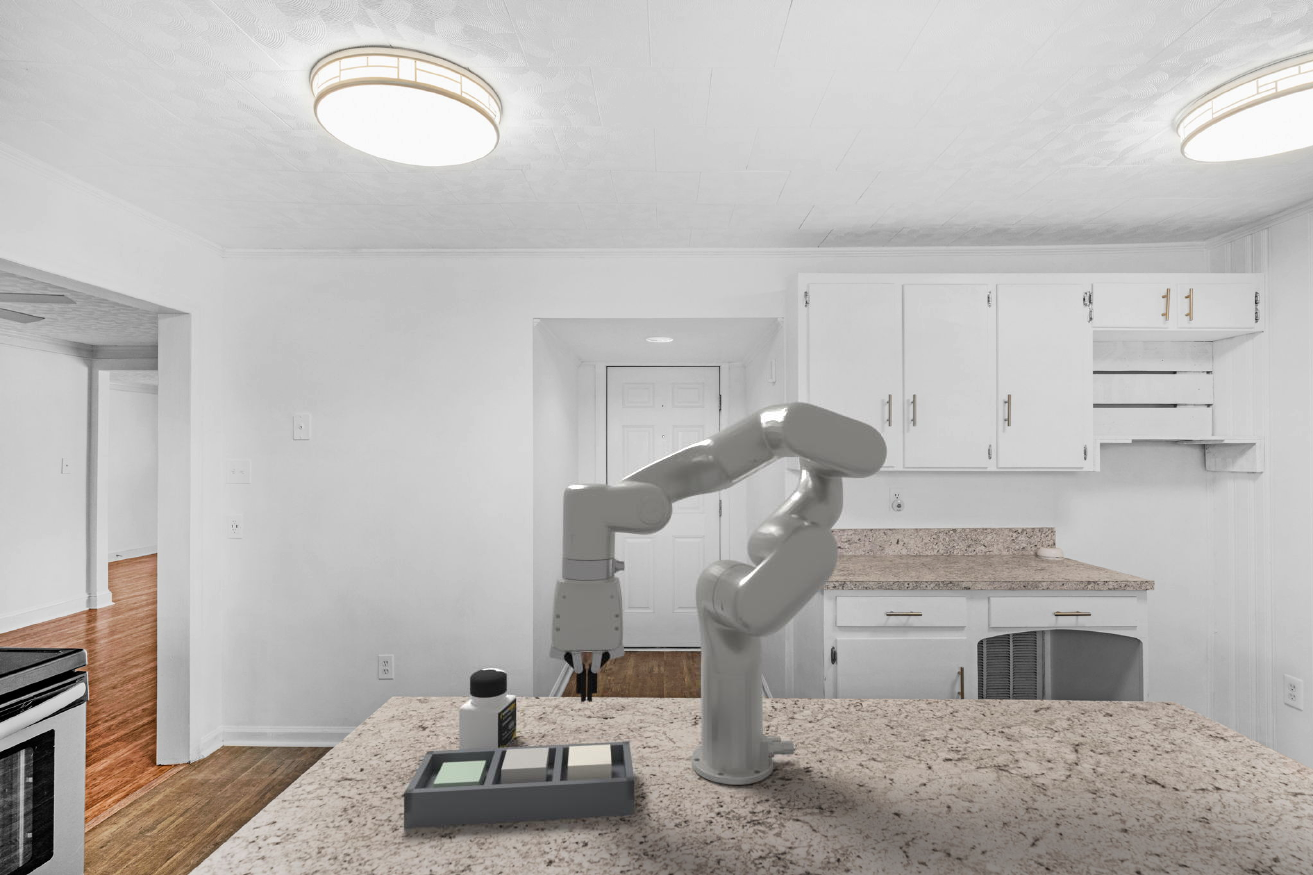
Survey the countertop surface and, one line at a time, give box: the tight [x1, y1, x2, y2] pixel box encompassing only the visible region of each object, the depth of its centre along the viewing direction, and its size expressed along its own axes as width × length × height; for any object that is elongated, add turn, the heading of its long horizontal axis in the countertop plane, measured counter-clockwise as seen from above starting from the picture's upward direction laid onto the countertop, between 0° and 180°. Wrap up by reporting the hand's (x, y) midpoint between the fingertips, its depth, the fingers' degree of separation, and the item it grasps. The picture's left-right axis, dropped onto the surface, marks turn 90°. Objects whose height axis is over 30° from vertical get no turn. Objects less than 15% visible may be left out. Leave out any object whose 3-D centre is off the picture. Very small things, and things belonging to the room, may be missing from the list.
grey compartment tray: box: [403, 741, 636, 829], centre depth 91 cm, size 30×12×4 cm, turn 96°
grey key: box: [501, 748, 549, 784], centre depth 91 cm, size 6×6×2 cm
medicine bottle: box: [458, 667, 517, 750], centre depth 108 cm, size 7×7×12 cm
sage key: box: [433, 761, 486, 788], centre depth 90 cm, size 6×6×2 cm
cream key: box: [568, 745, 611, 781], centre depth 92 cm, size 6×6×2 cm
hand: (586, 698), depth 92 cm, fingers closed
